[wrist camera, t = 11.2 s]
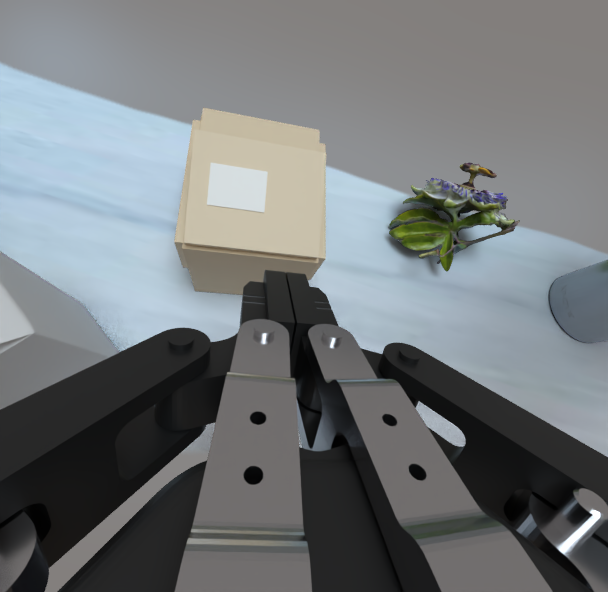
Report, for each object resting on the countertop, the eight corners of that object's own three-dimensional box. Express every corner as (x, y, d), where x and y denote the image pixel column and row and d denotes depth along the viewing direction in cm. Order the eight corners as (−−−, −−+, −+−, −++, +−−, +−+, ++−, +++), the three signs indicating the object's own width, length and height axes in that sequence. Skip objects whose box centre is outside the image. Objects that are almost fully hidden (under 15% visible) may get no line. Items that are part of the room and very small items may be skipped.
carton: (301, 200, 38) (328, 130, 28) (299, 299, 34) (328, 259, 24) (202, 186, 36) (192, 103, 26) (188, 290, 32) (171, 242, 22)
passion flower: (411, 229, 47) (499, 180, 40) (434, 295, 42) (538, 252, 36) (369, 193, 40) (469, 125, 33) (391, 269, 35) (514, 208, 28)
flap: (323, 157, 25) (326, 152, 25) (316, 259, 25) (319, 257, 24) (195, 135, 23) (194, 128, 23) (185, 244, 23) (183, 242, 22)
